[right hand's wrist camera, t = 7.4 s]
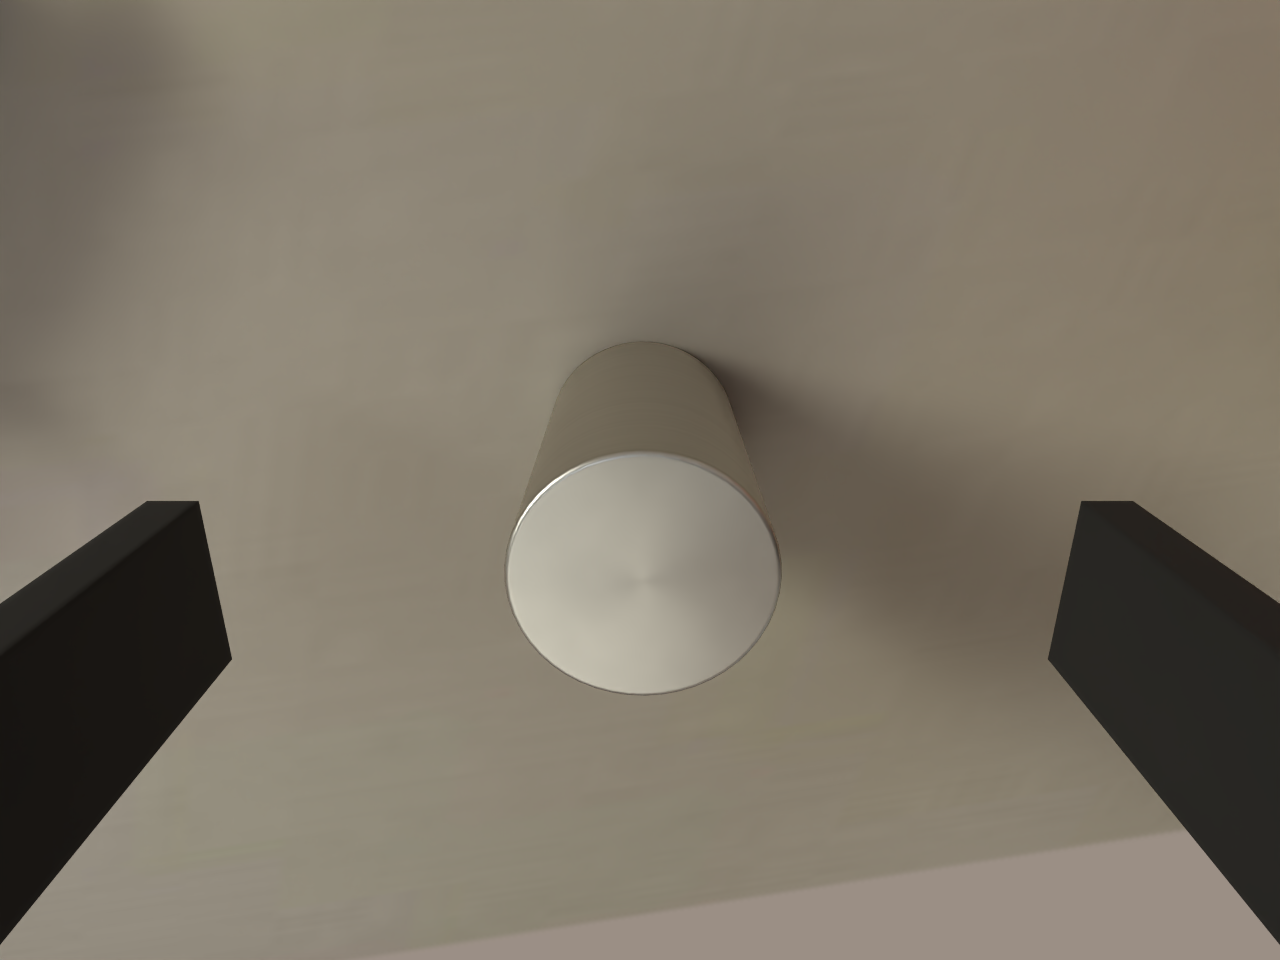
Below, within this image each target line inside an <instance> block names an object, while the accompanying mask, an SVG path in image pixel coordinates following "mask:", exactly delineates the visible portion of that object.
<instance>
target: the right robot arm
mask: <svg viewBox="0 0 1280 960" xmlns="http://www.w3.org/2000/svg"><path fill="white" fill-rule="evenodd" d="M231 660H232V657H231V652H230V647H229V643H228V638H227V633H226V628H225V624H224V619H223V614H222V610H221V605H220V600H219V595H218V591H217V586H216V581H215V576H214V572H213V567H212V562H211V557H210V553H209V548H208V543H207V539H206V534H205V529H204V524H203V520H202V515H201V510H200V505H199V501H147V502H145V503H144V504H142V505H141V506H139V507H138V508H137V509H135V510H134V511H132V512H131V513H129V514H128V515H127V516H125V517H124V518H122V519H121V520H119V521H118V522H117V523H115V524H114V525H112V526H111V527H109V528H108V529H107V530H105V531H104V532H102V533H101V534H99V535H98V536H96V537H95V538H94V539H92V540H91V541H89V542H88V543H86V544H85V545H84V546H82V547H81V548H79V549H78V550H76V551H75V552H74V553H72V554H71V555H69V556H68V557H66V558H65V559H64V560H62V561H61V562H59V563H58V564H56V565H55V566H54V567H52V568H51V569H49V570H48V571H46V572H45V573H44V574H42V575H41V576H39V577H38V578H36V579H35V580H34V581H32V582H31V583H29V584H28V585H26V586H25V587H24V588H22V589H21V590H19V591H18V592H16V593H15V594H13V595H12V596H11V597H9V598H8V599H6V600H5V601H3V602H2V603H1V604H0V944H1V943H2V942H3V941H4V939H5V938H6V937H7V936H8V934H9V933H10V932H11V931H12V929H13V928H14V927H15V926H16V925H17V923H18V922H19V921H20V920H21V918H22V917H23V916H24V915H25V913H26V912H27V911H28V910H29V909H30V907H31V906H32V905H33V904H34V902H35V901H36V900H37V899H38V897H39V896H40V895H41V894H42V893H43V891H44V890H45V889H46V888H47V886H48V885H49V884H50V883H51V881H52V880H53V879H54V878H55V877H56V875H57V874H58V873H59V872H60V870H61V869H62V868H63V867H64V865H65V864H66V863H67V862H68V861H69V859H70V858H71V857H72V856H73V854H74V853H75V852H76V851H77V849H78V848H79V847H80V846H81V844H82V843H83V842H84V841H85V840H86V838H87V837H88V836H89V835H90V833H91V832H92V831H93V830H94V828H95V827H96V826H97V825H98V824H99V822H100V821H101V820H102V819H103V817H104V816H105V815H106V814H107V812H108V811H109V810H110V809H111V808H112V806H113V805H114V804H115V803H116V801H117V800H118V799H119V798H120V796H121V795H122V794H123V793H124V792H125V790H126V789H127V788H128V787H129V785H130V784H131V783H132V782H133V780H134V779H135V778H136V777H137V776H138V774H139V773H140V772H141V771H142V769H143V768H144V767H145V766H146V764H147V763H148V762H149V761H150V760H151V758H152V757H153V756H154V755H155V753H156V752H157V751H158V750H159V748H160V747H161V746H162V745H163V744H164V742H165V741H166V740H167V739H168V737H169V736H170V735H171V734H172V732H173V731H174V730H175V729H176V728H177V726H178V725H179V724H180V723H181V721H182V720H183V719H184V718H185V716H186V715H187V714H188V713H189V711H190V710H191V709H192V708H193V707H194V705H195V704H196V703H197V702H198V700H199V699H200V698H201V697H202V695H203V694H204V693H205V692H206V691H207V689H208V688H209V687H210V686H211V684H212V683H213V682H214V681H215V679H216V678H217V677H218V676H219V675H220V673H221V672H222V671H223V670H224V668H225V667H226V666H227V665H228V663H229V662H230V661H231ZM1048 660H1049V661H1050V662H1051V663H1052V665H1053V666H1054V667H1055V668H1056V670H1057V671H1058V672H1059V673H1060V675H1061V676H1062V677H1063V678H1064V679H1065V681H1066V682H1067V683H1068V684H1069V686H1070V687H1071V688H1072V689H1073V691H1074V692H1075V693H1076V694H1077V695H1078V697H1079V698H1080V699H1081V700H1082V702H1083V703H1084V704H1085V705H1086V707H1087V708H1088V709H1089V710H1090V711H1091V713H1092V714H1093V715H1094V716H1095V718H1096V719H1097V720H1098V721H1099V723H1100V724H1101V725H1102V726H1103V728H1104V729H1105V730H1106V731H1107V732H1108V734H1109V735H1110V736H1111V737H1112V739H1113V740H1114V741H1115V742H1116V744H1117V745H1118V746H1119V747H1120V748H1121V750H1122V751H1123V752H1124V753H1125V755H1126V756H1127V757H1128V758H1129V760H1130V761H1131V762H1132V763H1133V764H1134V766H1135V767H1136V768H1137V769H1138V771H1139V772H1140V773H1141V774H1142V776H1143V777H1144V778H1145V779H1146V780H1147V782H1148V783H1149V784H1150V785H1151V787H1152V788H1153V789H1154V790H1155V792H1156V793H1157V794H1158V795H1159V796H1160V798H1161V799H1162V800H1163V801H1164V803H1165V804H1166V805H1167V806H1168V808H1169V809H1170V810H1171V811H1172V812H1173V814H1174V815H1175V816H1176V817H1177V819H1178V820H1179V821H1180V822H1181V824H1182V825H1183V826H1184V827H1185V828H1186V830H1187V831H1188V832H1189V833H1190V835H1191V836H1192V837H1193V838H1194V840H1195V841H1196V842H1197V843H1198V844H1199V846H1200V847H1201V848H1202V849H1203V851H1204V852H1205V853H1206V854H1207V856H1208V857H1209V858H1210V859H1211V860H1212V862H1213V863H1214V864H1215V865H1216V867H1217V868H1218V869H1219V870H1220V872H1221V873H1222V874H1223V875H1224V876H1225V878H1226V879H1227V880H1228V881H1229V883H1230V884H1231V885H1232V886H1233V888H1234V889H1235V890H1236V891H1237V893H1238V894H1239V895H1240V896H1241V897H1242V899H1243V900H1244V901H1245V902H1246V904H1247V905H1248V906H1249V907H1250V909H1251V910H1252V911H1253V912H1254V913H1255V915H1256V916H1257V917H1258V918H1259V920H1260V921H1261V922H1262V923H1263V925H1264V926H1265V927H1266V928H1267V929H1268V931H1269V932H1270V933H1271V934H1272V936H1273V937H1274V938H1275V939H1276V941H1277V942H1278V943H1279V944H1280V604H1279V603H1278V602H1277V601H1275V600H1274V599H1272V598H1271V597H1269V596H1268V595H1267V594H1265V593H1264V592H1262V591H1261V590H1259V589H1258V588H1256V587H1255V586H1254V585H1252V584H1251V583H1249V582H1248V581H1246V580H1245V579H1244V578H1242V577H1241V576H1239V575H1238V574H1236V573H1235V572H1234V571H1232V570H1231V569H1229V568H1228V567H1226V566H1225V565H1224V564H1222V563H1221V562H1219V561H1218V560H1216V559H1215V558H1214V557H1212V556H1211V555H1209V554H1208V553H1206V552H1205V551H1204V550H1202V549H1201V548H1199V547H1198V546H1196V545H1195V544H1194V543H1192V542H1191V541H1189V540H1188V539H1186V538H1185V537H1184V536H1182V535H1181V534H1179V533H1178V532H1176V531H1175V530H1173V529H1172V528H1171V527H1169V526H1168V525H1166V524H1165V523H1163V522H1162V521H1161V520H1159V519H1158V518H1156V517H1155V516H1153V515H1152V514H1151V513H1149V512H1148V511H1146V510H1145V509H1143V508H1142V507H1141V506H1139V505H1138V504H1136V503H1135V502H1133V501H1081V505H1080V510H1079V515H1078V520H1077V524H1076V529H1075V534H1074V539H1073V543H1072V548H1071V553H1070V557H1069V562H1068V567H1067V572H1066V576H1065V581H1064V586H1063V591H1062V595H1061V600H1060V605H1059V610H1058V614H1057V619H1056V624H1055V628H1054V633H1053V638H1052V643H1051V647H1050V652H1049V657H1048Z"/></svg>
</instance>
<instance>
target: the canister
mask: <svg viewBox="0 0 1280 960" xmlns="http://www.w3.org/2000/svg"><path fill="white" fill-rule="evenodd" d="M504 568H505V586H506V592H507V598H508V601H509V604H510V607H511V610H512V613H513V615H514V617H515V619H516V621H517V623H518V625H519V627H520V629H521V631H522V632H523V634H524V635H525V637H526V638H527V640H528V641H529V642H530V644H531V645H532V646H533V647H534V648H535V649H536V650H537V652H538V653H539V654H540V655H541V656H542V657H544V658H545V659H546V660H547V661H548V662H549V663H550V664H551V665H553V666H554V667H556V668H557V669H559V670H560V671H561V672H563V673H564V674H566V675H568V676H570V677H572V678H574V679H575V680H577V681H579V682H582V683H584V684H587V685H589V686H592V687H594V688H598V689H602V690H605V691H609V692H614V693H620V694H627V695H658V694H666V693H672V692H677V691H681V690H685V689H688V688H691V687H695V686H697V685H699V684H702V683H704V682H706V681H709V680H711V679H713V678H714V677H716V676H718V675H720V674H721V673H723V672H725V671H726V670H728V669H729V668H730V667H732V666H733V665H734V664H736V663H737V662H738V661H739V660H740V659H741V658H742V657H744V656H745V655H746V654H747V653H748V652H749V651H750V650H751V648H752V647H753V646H754V645H755V643H756V642H757V641H758V640H759V638H760V637H761V635H762V634H763V632H764V630H765V629H766V627H767V626H768V624H769V622H770V620H771V617H772V615H773V613H774V610H775V608H776V604H777V601H778V597H779V594H780V586H781V578H782V569H781V556H780V551H779V545H778V542H777V539H776V536H775V533H774V530H773V527H772V524H771V521H770V518H769V515H768V512H767V509H766V507H765V504H764V501H763V498H762V495H761V492H760V489H759V486H758V483H757V481H756V478H755V475H754V472H753V469H752V466H751V463H750V460H749V457H748V454H747V452H746V449H745V446H744V443H743V440H742V437H741V434H740V431H739V428H738V425H737V423H736V420H735V417H734V414H733V411H732V408H731V405H730V402H729V399H728V397H727V395H726V393H725V391H724V389H723V387H722V385H721V384H720V382H719V381H718V379H717V378H716V376H715V375H714V374H713V373H712V372H711V371H710V370H709V369H708V368H707V367H706V366H705V365H704V364H703V363H702V362H700V361H699V360H698V359H696V358H695V357H693V356H692V355H690V354H688V353H686V352H684V351H682V350H680V349H678V348H675V347H672V346H668V345H665V344H660V343H654V342H633V343H625V344H621V345H616V346H613V347H611V348H608V349H605V350H603V351H601V352H599V353H597V354H595V355H593V356H592V357H591V358H589V359H588V360H586V361H585V362H583V363H582V364H581V365H580V366H579V367H578V368H577V369H576V370H575V371H574V372H573V373H572V374H571V376H570V377H569V378H568V379H567V381H566V382H565V384H564V386H563V387H562V389H561V391H560V393H559V395H558V398H557V400H556V403H555V406H554V408H553V411H552V414H551V417H550V420H549V423H548V426H547V429H546V432H545V435H544V438H543V441H542V444H541V447H540V450H539V453H538V456H537V459H536V462H535V465H534V467H533V470H532V473H531V476H530V479H529V482H528V485H527V488H526V491H525V494H524V497H523V500H522V503H521V506H520V509H519V512H518V515H517V518H516V521H515V523H514V526H513V529H512V532H511V536H510V539H509V543H508V546H507V550H506V557H505V565H504Z"/></svg>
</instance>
